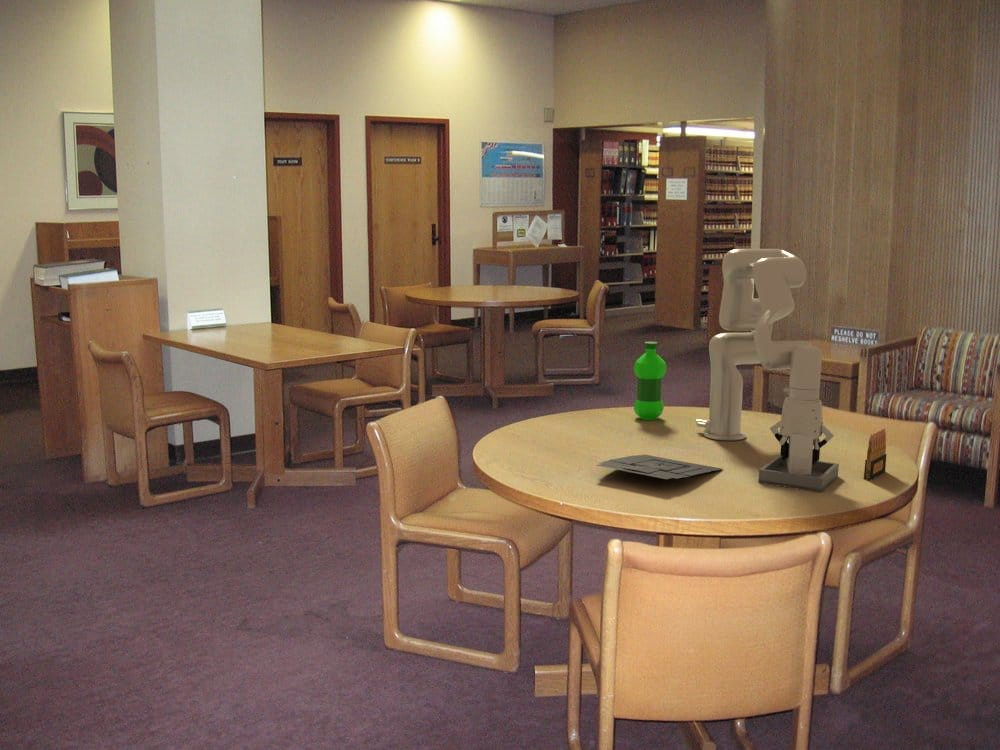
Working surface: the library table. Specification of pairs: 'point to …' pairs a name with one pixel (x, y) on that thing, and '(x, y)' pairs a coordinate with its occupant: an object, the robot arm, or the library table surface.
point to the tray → (780, 475)
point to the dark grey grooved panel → (656, 466)
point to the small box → (800, 454)
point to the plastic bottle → (649, 383)
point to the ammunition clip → (876, 455)
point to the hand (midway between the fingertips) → (799, 460)
